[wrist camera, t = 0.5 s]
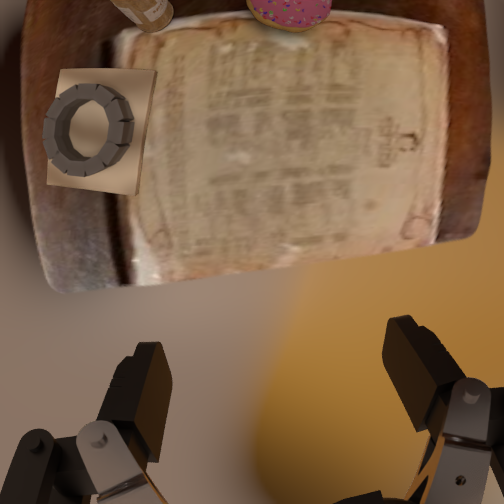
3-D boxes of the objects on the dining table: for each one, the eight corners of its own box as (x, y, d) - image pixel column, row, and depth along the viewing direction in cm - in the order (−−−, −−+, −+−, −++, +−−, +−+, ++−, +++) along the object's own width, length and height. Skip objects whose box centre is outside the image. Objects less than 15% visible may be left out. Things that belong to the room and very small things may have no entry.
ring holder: (65, 70, 28) (45, 65, 24) (157, 72, 30) (146, 64, 25) (51, 182, 33) (31, 190, 29) (138, 193, 35) (125, 203, 30)
